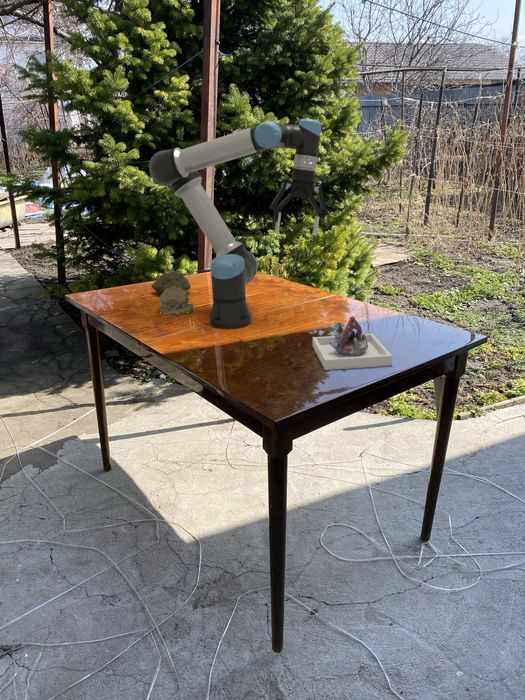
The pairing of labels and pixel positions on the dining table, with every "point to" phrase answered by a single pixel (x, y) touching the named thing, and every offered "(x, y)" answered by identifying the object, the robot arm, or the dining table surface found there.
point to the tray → (333, 360)
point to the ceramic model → (175, 301)
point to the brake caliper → (349, 339)
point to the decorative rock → (171, 282)
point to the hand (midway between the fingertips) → (295, 233)
